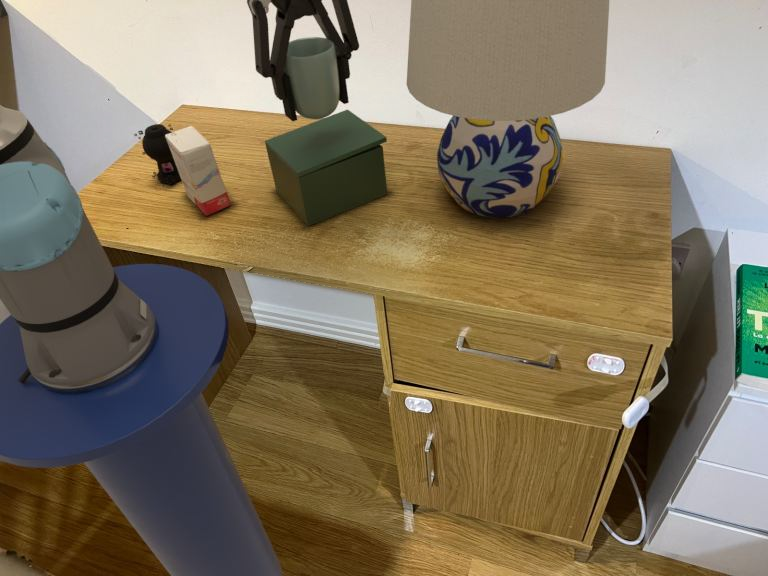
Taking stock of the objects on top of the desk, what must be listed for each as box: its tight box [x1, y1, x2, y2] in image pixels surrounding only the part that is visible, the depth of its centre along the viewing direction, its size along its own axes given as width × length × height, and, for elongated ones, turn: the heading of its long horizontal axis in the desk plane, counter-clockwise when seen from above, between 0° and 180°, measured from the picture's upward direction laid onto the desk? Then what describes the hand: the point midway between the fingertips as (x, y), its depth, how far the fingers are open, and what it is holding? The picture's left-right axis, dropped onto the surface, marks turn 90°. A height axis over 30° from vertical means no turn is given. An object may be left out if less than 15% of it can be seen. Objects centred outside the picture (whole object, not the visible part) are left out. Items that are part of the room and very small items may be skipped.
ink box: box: [165, 125, 232, 216], centre depth 97 cm, size 9×5×12 cm, turn 35°
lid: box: [264, 109, 388, 177], centre depth 93 cm, size 15×13×1 cm
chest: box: [265, 144, 388, 227], centre depth 96 cm, size 15×13×9 cm
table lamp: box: [406, 0, 610, 219], centre depth 82 cm, size 27×27×40 cm
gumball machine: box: [133, 123, 181, 187], centre depth 104 cm, size 7×6×10 cm
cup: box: [284, 36, 340, 120], centre depth 87 cm, size 8×8×10 cm
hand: (317, 108), depth 89 cm, fingers closed on cup, 8 cm apart
